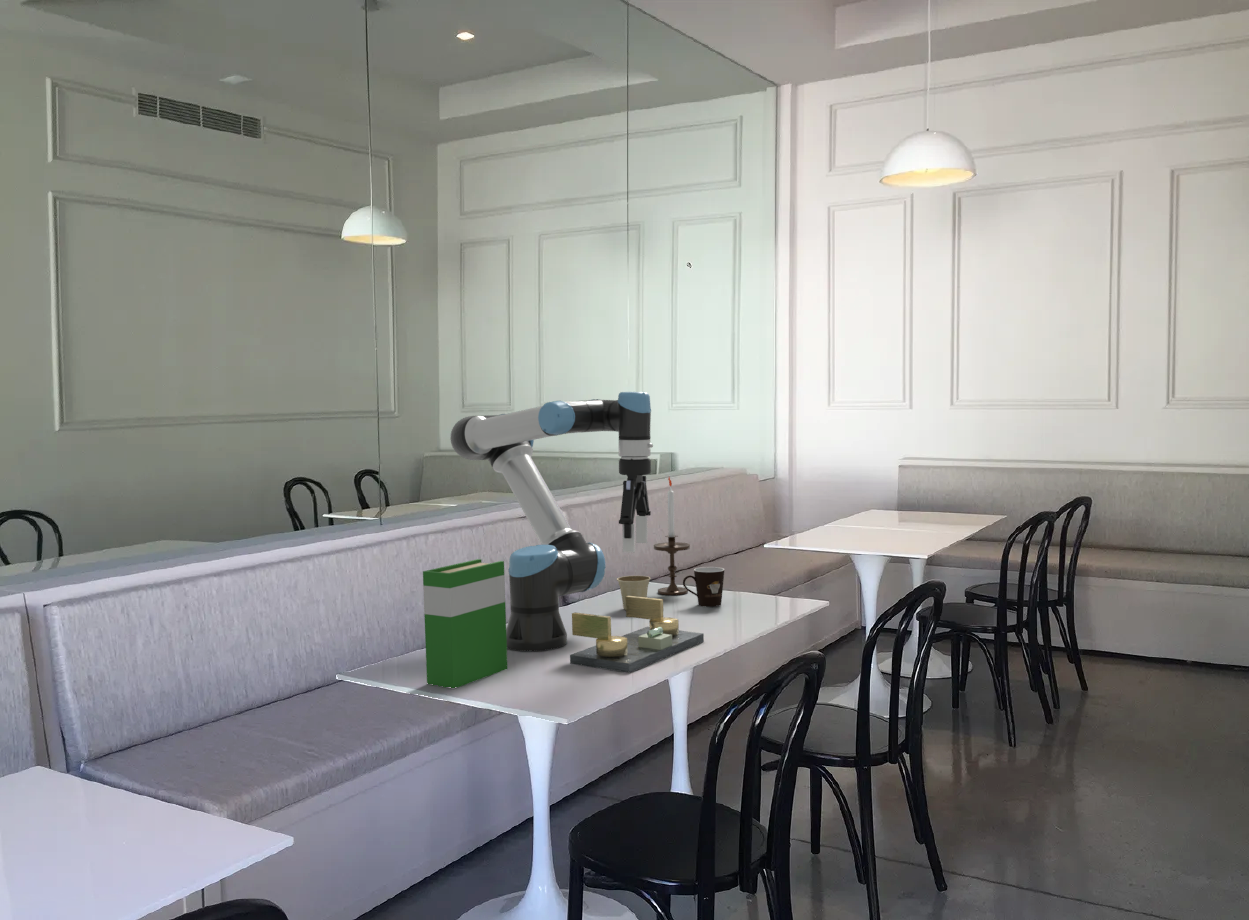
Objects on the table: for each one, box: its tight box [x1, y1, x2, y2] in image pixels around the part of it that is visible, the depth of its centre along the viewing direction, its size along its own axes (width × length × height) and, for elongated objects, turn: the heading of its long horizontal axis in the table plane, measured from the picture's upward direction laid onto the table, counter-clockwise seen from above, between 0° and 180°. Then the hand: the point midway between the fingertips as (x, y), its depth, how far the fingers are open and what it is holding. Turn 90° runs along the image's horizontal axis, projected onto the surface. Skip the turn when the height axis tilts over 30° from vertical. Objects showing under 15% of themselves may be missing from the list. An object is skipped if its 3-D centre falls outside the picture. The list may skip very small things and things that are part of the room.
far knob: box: [625, 596, 680, 636], centre depth 255 cm, size 14×7×8 cm, turn 56°
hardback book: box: [422, 558, 508, 689], centre depth 227 cm, size 18×7×24 cm, turn 147°
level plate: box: [569, 626, 705, 674], centre depth 244 cm, size 32×16×6 cm, turn 146°
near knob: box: [571, 612, 628, 657], centre depth 237 cm, size 14×7×8 cm, turn 56°
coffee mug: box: [682, 566, 725, 608], centre depth 297 cm, size 12×9×10 cm
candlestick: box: [653, 476, 691, 597], centre depth 315 cm, size 11×11×35 cm
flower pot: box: [616, 575, 651, 611], centre depth 294 cm, size 9×9×9 cm
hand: (635, 547), depth 249 cm, fingers open, 13 cm apart
